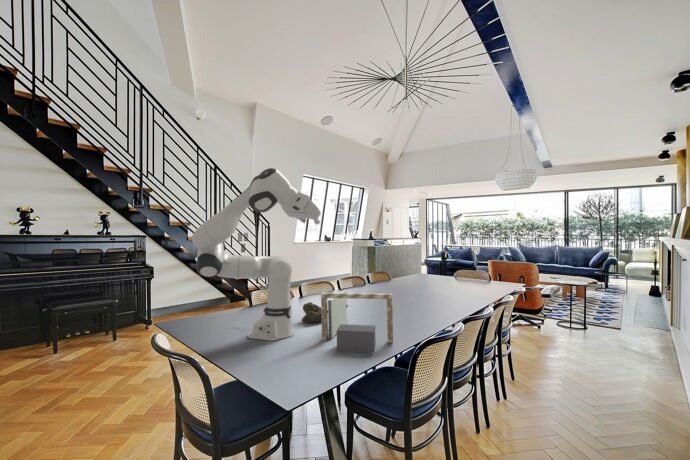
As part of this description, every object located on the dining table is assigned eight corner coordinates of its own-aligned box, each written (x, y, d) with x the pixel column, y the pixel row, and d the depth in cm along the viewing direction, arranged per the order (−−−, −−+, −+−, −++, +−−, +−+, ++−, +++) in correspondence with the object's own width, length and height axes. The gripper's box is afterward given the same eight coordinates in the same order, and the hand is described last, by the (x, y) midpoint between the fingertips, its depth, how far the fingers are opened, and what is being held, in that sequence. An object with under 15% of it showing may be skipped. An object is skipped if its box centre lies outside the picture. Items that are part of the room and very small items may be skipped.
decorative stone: (327, 314, 170) (302, 304, 171) (320, 332, 171) (295, 322, 172) (330, 306, 186) (307, 296, 187) (324, 322, 187) (301, 313, 187)
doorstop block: (336, 351, 132) (336, 330, 132) (340, 343, 141) (340, 324, 141) (374, 353, 130) (373, 331, 130) (375, 345, 139) (375, 325, 139)
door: (332, 339, 146) (331, 301, 146) (326, 338, 146) (326, 300, 147) (348, 322, 172) (347, 290, 172) (343, 322, 173) (342, 290, 173)
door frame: (321, 340, 146) (321, 293, 146) (323, 338, 148) (322, 292, 149) (393, 343, 140) (392, 294, 141) (393, 341, 143) (392, 293, 143)
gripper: (273, 206, 132) (293, 226, 140) (302, 207, 117) (322, 230, 126) (282, 195, 134) (301, 215, 143) (311, 195, 120) (330, 218, 128)
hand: (311, 222), depth 134 cm, fingers open, 8 cm apart
